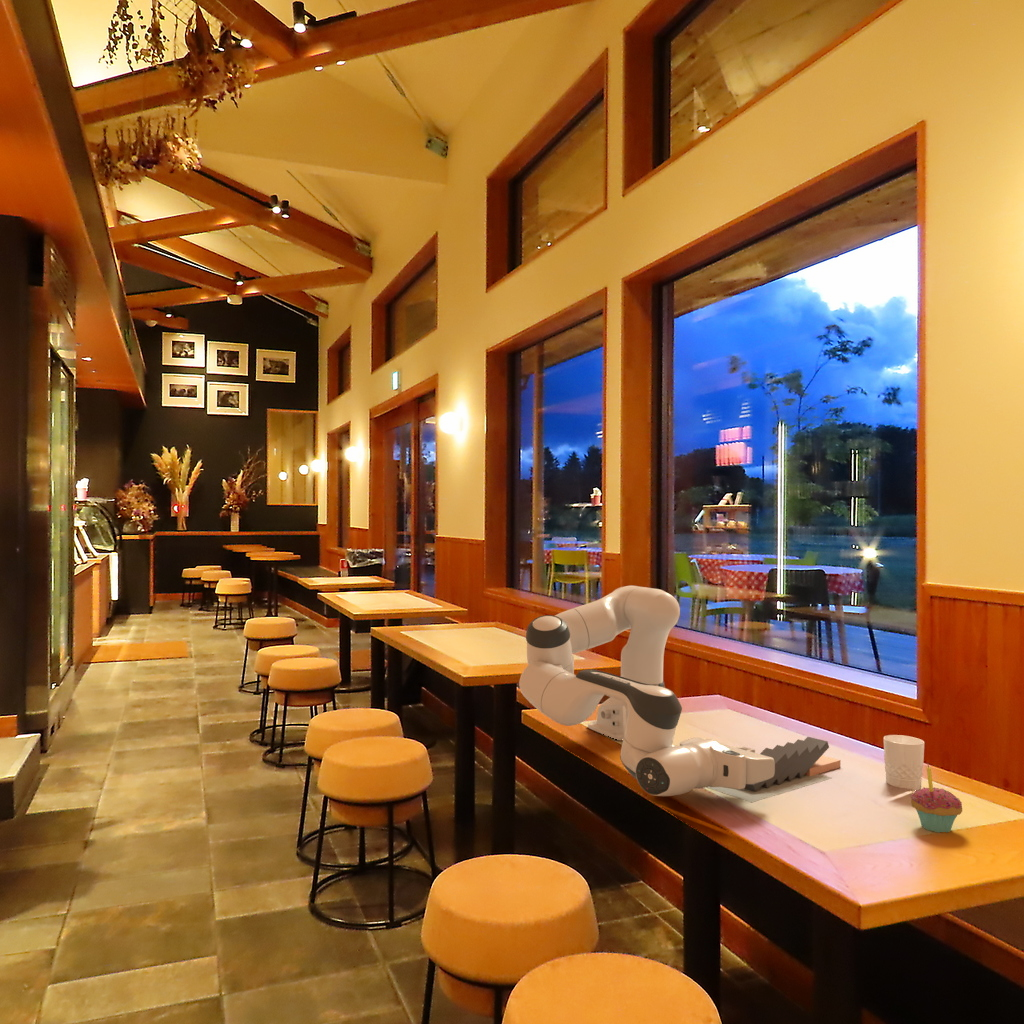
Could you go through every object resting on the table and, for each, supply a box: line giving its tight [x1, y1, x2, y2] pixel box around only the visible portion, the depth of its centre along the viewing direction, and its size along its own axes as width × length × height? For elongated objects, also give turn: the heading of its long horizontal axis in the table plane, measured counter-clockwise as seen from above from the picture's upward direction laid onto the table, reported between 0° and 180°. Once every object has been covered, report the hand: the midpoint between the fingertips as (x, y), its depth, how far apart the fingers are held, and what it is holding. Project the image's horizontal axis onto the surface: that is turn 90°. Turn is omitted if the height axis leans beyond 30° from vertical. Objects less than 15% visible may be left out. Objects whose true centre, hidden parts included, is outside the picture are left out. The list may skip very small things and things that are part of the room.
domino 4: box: [785, 739, 819, 781], centre depth 179 cm, size 5×2×12 cm
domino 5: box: [795, 736, 830, 778], centre depth 182 cm, size 5×2×12 cm
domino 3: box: [773, 741, 809, 785], centre depth 177 cm, size 5×2×12 cm
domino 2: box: [761, 744, 799, 789], centre depth 175 cm, size 5×2×12 cm
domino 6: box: [804, 755, 841, 776], centre depth 184 cm, size 5×2×12 cm
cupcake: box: [910, 763, 963, 833], centre depth 150 cm, size 9×8×12 cm
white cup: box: [883, 734, 925, 792], centre depth 174 cm, size 8×8×10 cm
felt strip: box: [706, 773, 832, 803], centre depth 174 cm, size 12×28×1 cm, turn 127°
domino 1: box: [745, 747, 788, 792], centre depth 172 cm, size 5×2×12 cm
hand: (749, 751), depth 170 cm, fingers closed
